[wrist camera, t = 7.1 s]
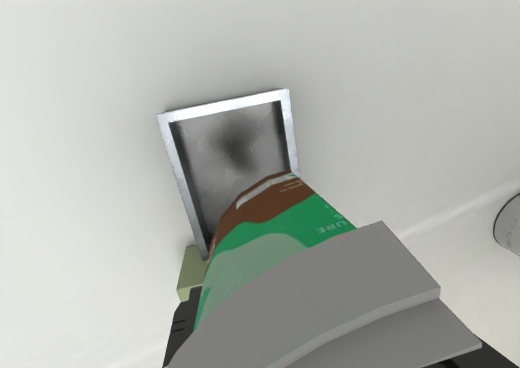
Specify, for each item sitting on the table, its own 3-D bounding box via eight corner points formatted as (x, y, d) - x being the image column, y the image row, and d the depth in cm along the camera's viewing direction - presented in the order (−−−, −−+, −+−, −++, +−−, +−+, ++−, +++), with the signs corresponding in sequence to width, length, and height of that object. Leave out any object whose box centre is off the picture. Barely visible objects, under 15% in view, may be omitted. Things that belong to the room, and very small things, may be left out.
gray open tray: (280, 88, 26) (288, 88, 23) (299, 220, 31) (308, 236, 28) (164, 111, 25) (155, 115, 22) (204, 242, 31) (202, 261, 28)
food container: (152, 169, 12) (-110, 477, 2) (284, 139, 12) (489, 309, 3) (220, 352, 16) (218, 705, 7) (314, 326, 17) (432, 629, 7)
